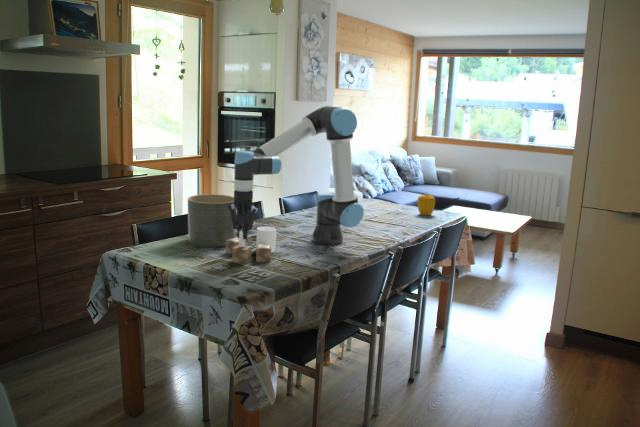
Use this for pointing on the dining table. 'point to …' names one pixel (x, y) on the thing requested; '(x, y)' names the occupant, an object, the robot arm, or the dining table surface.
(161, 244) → the dining table surface
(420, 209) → the yellow bell pepper
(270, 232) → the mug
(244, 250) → the plain cube
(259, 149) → the robot arm
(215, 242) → the planter
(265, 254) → the labelled cube
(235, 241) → the labelled cube a
